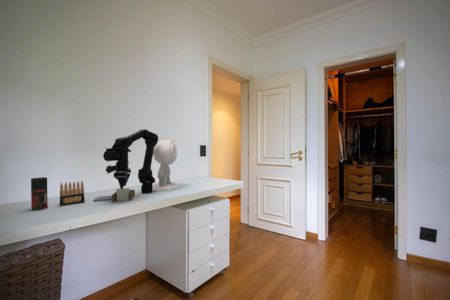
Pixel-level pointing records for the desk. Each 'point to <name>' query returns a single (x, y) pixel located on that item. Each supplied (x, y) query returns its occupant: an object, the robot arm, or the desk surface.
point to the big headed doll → (165, 164)
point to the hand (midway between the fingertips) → (123, 187)
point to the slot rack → (131, 195)
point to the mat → (102, 198)
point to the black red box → (39, 193)
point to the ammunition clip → (71, 194)
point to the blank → (123, 194)
